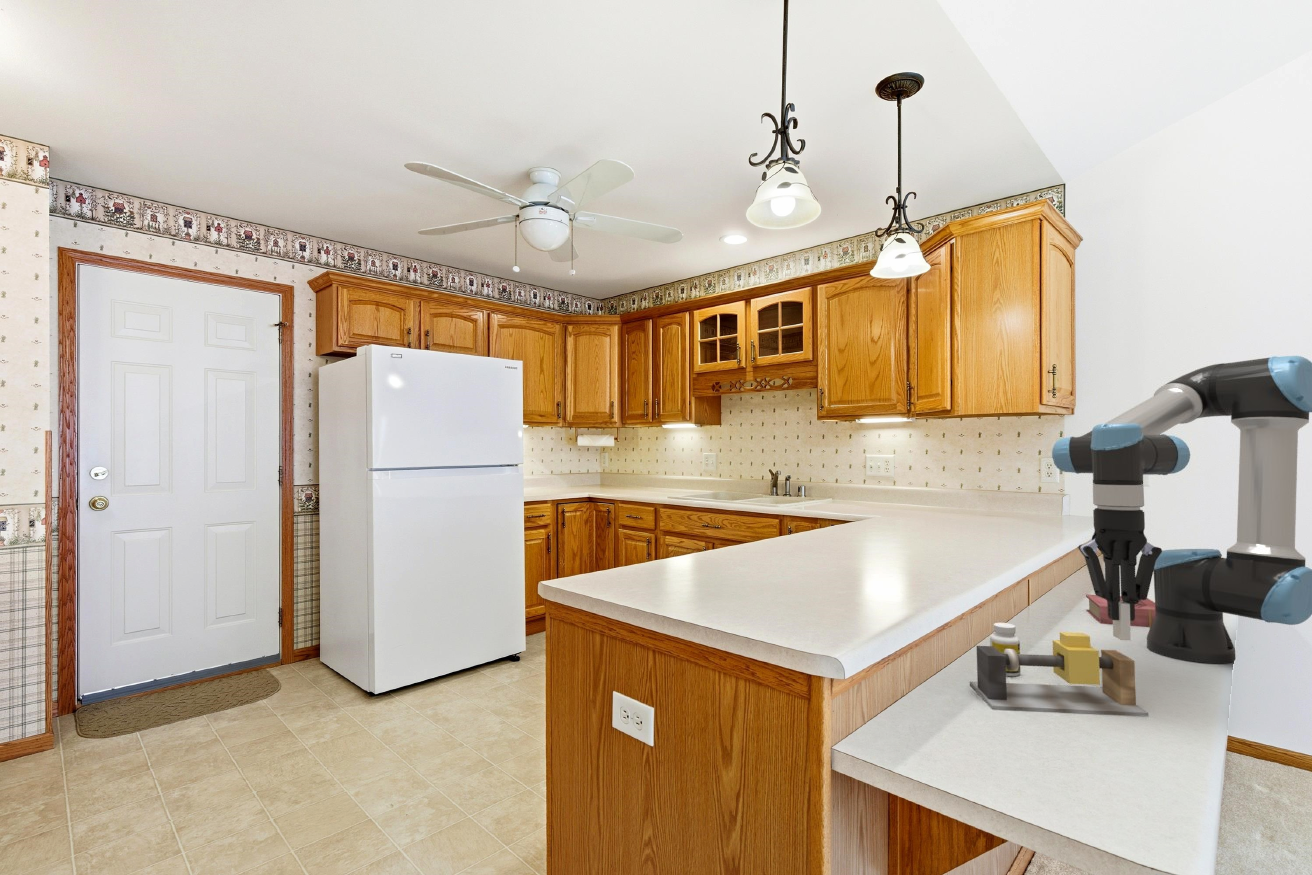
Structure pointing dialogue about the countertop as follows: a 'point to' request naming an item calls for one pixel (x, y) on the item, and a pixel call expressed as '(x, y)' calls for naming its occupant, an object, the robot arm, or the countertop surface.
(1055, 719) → the countertop surface
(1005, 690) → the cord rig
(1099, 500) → the robot arm
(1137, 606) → the book
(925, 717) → the countertop surface
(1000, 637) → the supplement bottle
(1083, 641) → the sleeve
